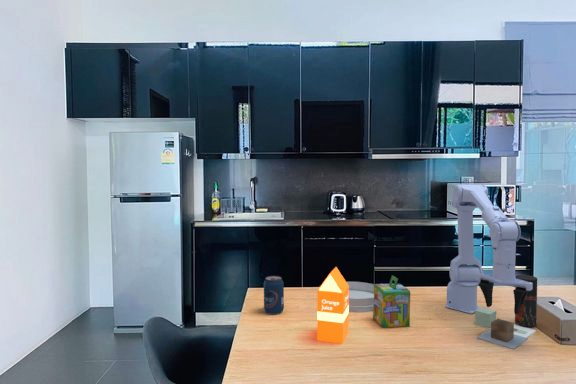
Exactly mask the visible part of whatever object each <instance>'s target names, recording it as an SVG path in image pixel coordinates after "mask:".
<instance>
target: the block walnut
mask: <svg viewBox="0 0 576 384" xmlns="http://www.w3.org/2000/svg"><path fill="white" fill-rule="evenodd" d="M514 325H515V322H512V321H507V320H504V319H500V318H496V320H494V321H492V322H491V328H490V329H491V338H494V339H497V340H501V341H504V342H509V341H510V340H512V339H513V338H514Z"/></svg>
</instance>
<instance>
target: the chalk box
mask: <svg viewBox="0 0 576 384" xmlns="http://www.w3.org/2000/svg"><path fill="white" fill-rule="evenodd" d="M398 280H399V278H397V277H396V276H394V275H391V277H390V280H389V283H375V284H374V283H373V284H374V307H373V311H372V317H373V318H374V320H375V321H376V322H377V323H378V324H379V325H380V326H381V327H382V329H383V328H396V327H397V328H399V327H400V328H401V327H403V328H404V327H410V324H411V323H410V322H411V321H410V320H411V318H410V317H411V316H410V314H411V291H410V290H409V289H408V287H405V286H404V285H403V284H401V283H398ZM393 281H394V283H393Z"/></svg>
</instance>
